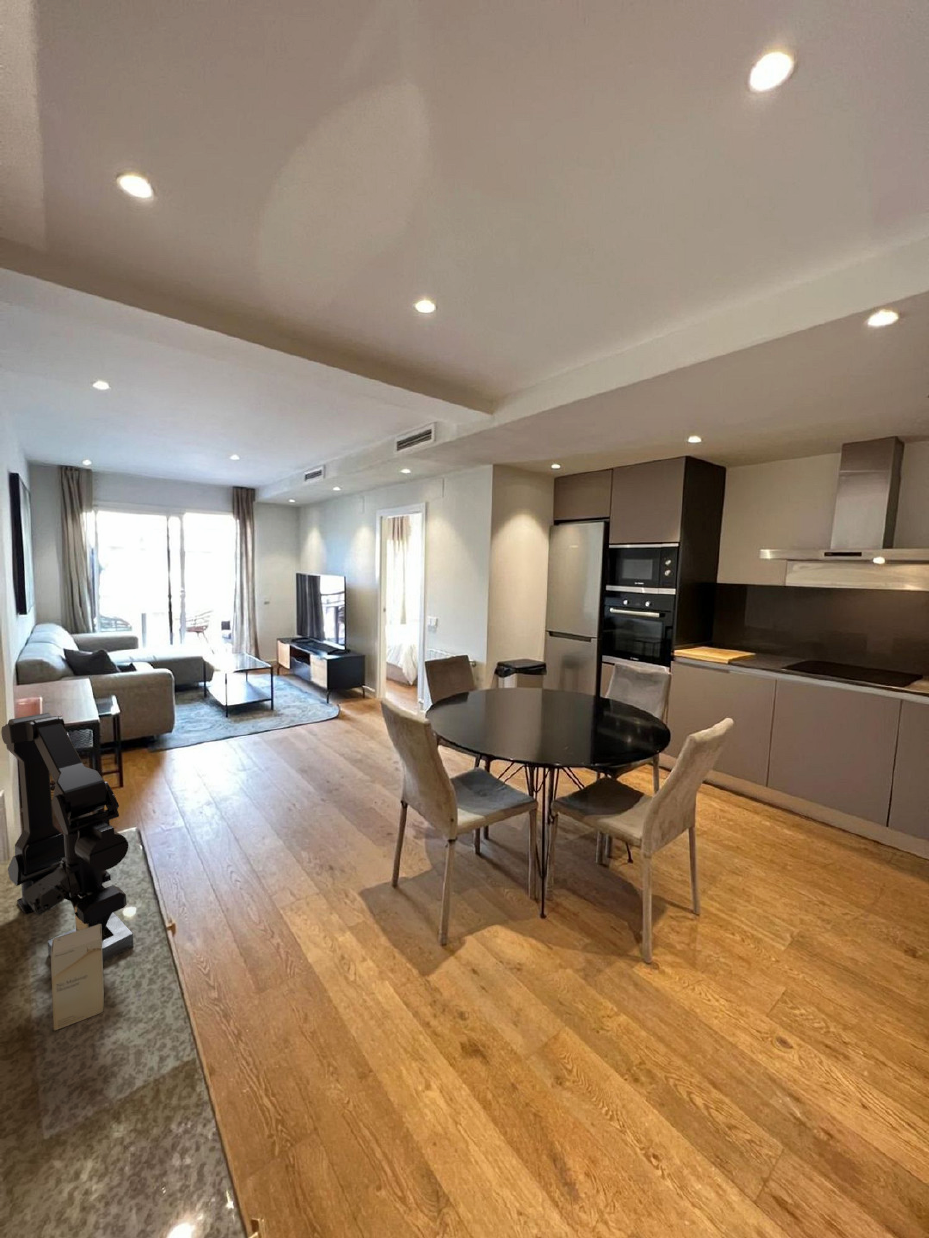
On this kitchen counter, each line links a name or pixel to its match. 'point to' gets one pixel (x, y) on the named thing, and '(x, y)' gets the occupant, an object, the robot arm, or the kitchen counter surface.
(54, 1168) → the kitchen counter surface
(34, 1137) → the kitchen counter surface
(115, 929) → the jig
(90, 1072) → the kitchen counter surface
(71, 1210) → the kitchen counter surface
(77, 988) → the skincare box
